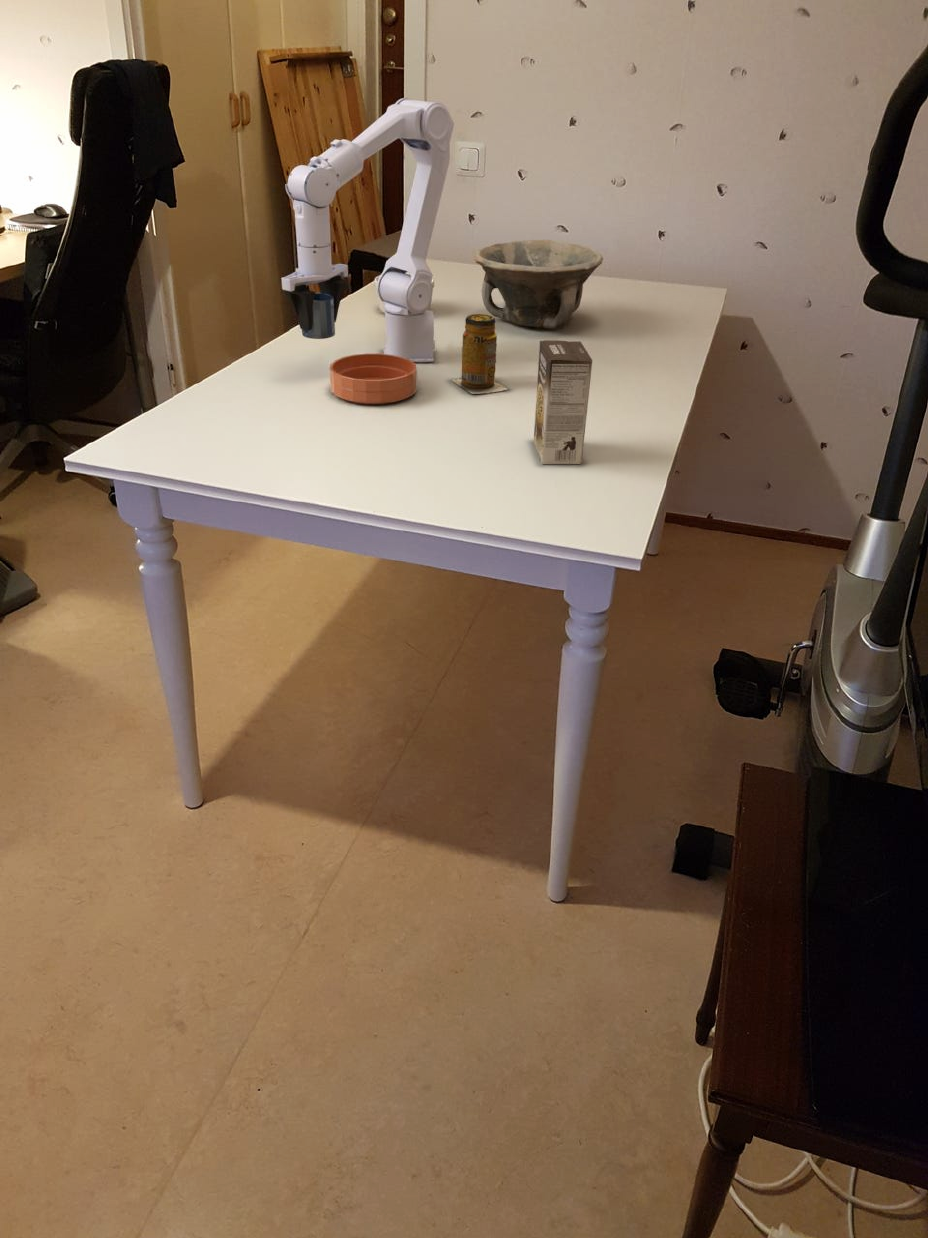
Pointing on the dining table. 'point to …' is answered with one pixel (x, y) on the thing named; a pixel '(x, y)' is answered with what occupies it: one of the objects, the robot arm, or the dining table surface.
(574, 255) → the bowl
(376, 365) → the clay bowl
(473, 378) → the condiment
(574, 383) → the coffee box
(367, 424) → the dining table surface
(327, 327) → the cup
